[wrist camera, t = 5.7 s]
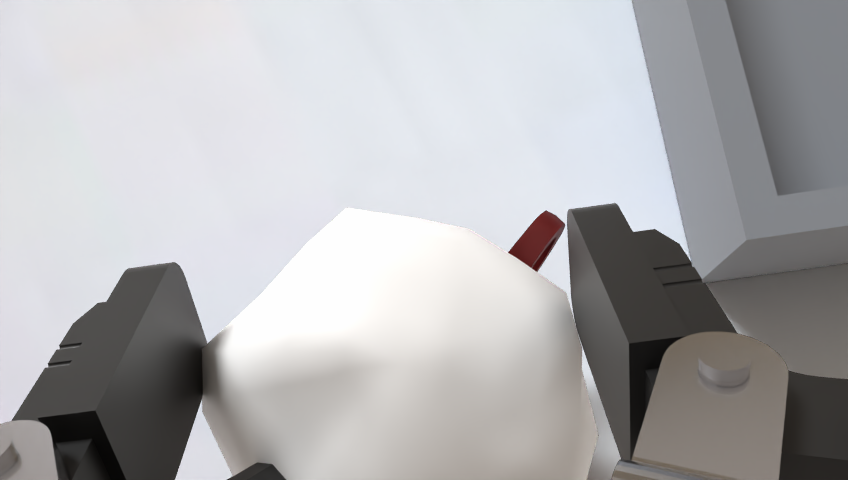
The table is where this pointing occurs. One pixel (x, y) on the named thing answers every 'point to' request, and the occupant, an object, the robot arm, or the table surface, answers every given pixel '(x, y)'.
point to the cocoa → (404, 361)
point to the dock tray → (753, 128)
